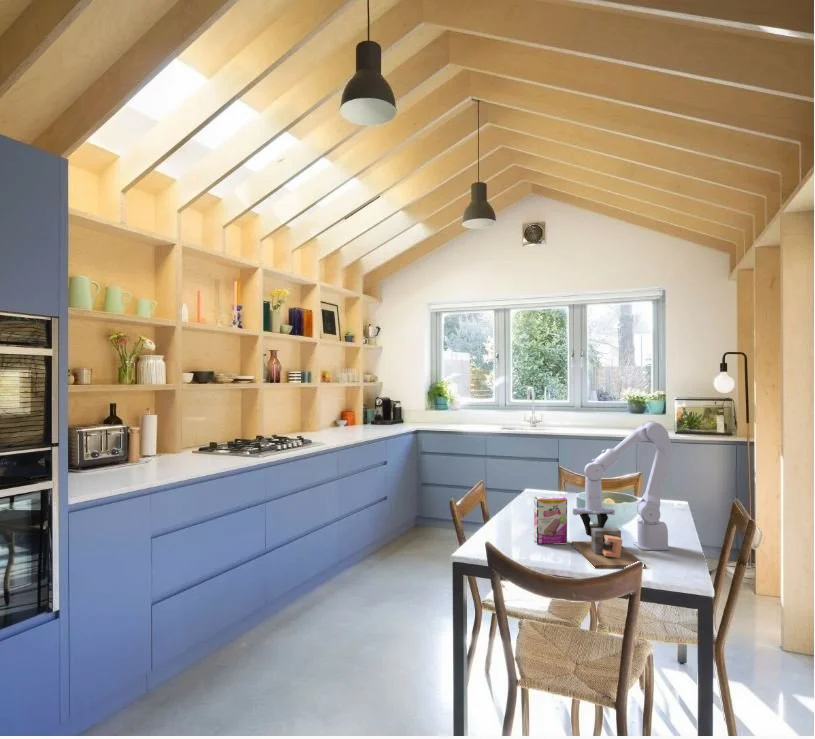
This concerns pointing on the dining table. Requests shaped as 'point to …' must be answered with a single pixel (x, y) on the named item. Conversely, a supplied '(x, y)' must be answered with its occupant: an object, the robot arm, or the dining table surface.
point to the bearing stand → (595, 546)
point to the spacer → (615, 548)
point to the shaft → (603, 537)
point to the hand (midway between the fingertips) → (593, 534)
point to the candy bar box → (550, 520)
